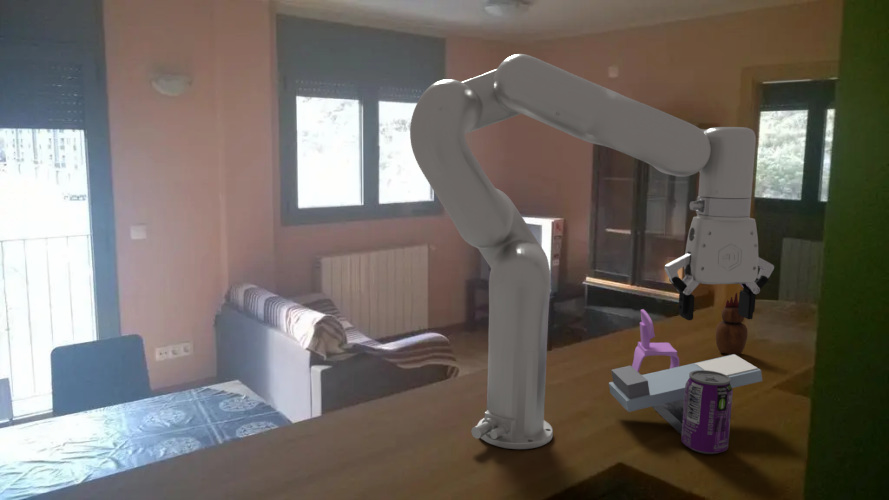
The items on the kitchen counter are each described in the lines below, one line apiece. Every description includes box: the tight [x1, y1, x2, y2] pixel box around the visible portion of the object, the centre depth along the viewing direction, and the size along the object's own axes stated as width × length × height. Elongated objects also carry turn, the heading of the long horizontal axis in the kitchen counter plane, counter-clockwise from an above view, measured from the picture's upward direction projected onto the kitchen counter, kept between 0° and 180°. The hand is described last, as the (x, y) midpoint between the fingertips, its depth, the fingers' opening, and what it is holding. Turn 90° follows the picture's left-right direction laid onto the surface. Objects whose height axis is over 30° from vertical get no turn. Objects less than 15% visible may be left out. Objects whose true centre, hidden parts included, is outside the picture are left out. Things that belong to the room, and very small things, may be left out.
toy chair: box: [631, 308, 680, 373], centre depth 142 cm, size 8×9×15 cm
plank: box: [608, 354, 763, 413], centre depth 122 cm, size 24×9×4 cm, turn 95°
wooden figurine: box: [715, 292, 749, 356], centre depth 162 cm, size 7×6×15 cm
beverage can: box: [680, 370, 734, 455], centre depth 111 cm, size 7×7×12 cm
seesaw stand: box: [651, 399, 684, 436], centre depth 123 cm, size 6×13×6 cm, turn 6°
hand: (715, 317), depth 109 cm, fingers open, 9 cm apart
